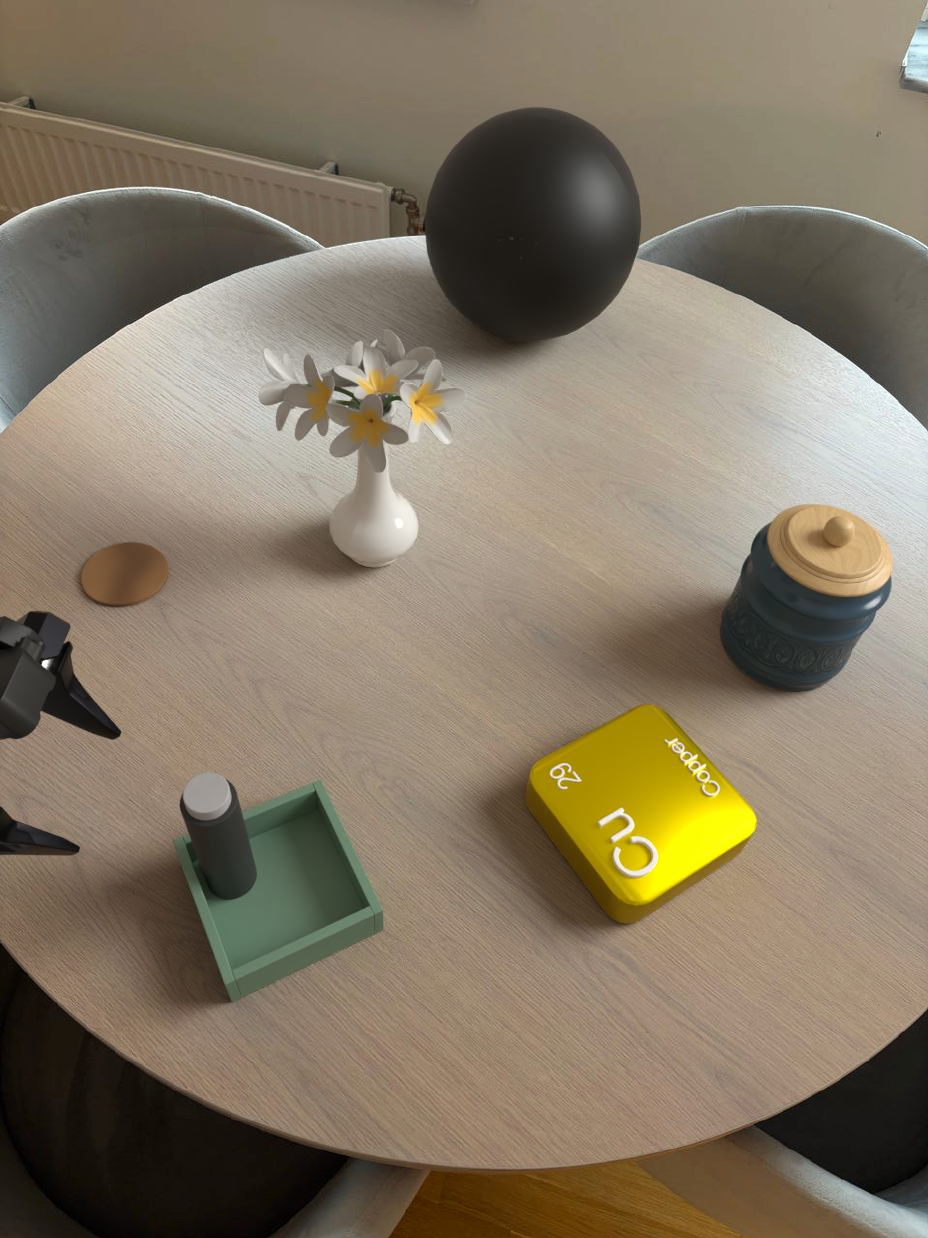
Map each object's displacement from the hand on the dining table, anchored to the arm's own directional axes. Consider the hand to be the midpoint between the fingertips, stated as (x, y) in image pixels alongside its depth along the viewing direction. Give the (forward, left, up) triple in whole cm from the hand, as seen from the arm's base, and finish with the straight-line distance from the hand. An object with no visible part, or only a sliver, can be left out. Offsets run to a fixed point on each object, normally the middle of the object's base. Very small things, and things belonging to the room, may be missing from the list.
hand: (98, 791), depth 67 cm
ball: (+68, +55, -13) cm, 88 cm away
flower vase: (+32, +25, -13) cm, 43 cm away
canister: (+65, -4, -13) cm, 66 cm away
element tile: (+40, -14, -13) cm, 44 cm away
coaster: (+8, +32, -13) cm, 35 cm away
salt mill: (+7, -4, -13) cm, 15 cm away
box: (+10, -7, -13) cm, 18 cm away
